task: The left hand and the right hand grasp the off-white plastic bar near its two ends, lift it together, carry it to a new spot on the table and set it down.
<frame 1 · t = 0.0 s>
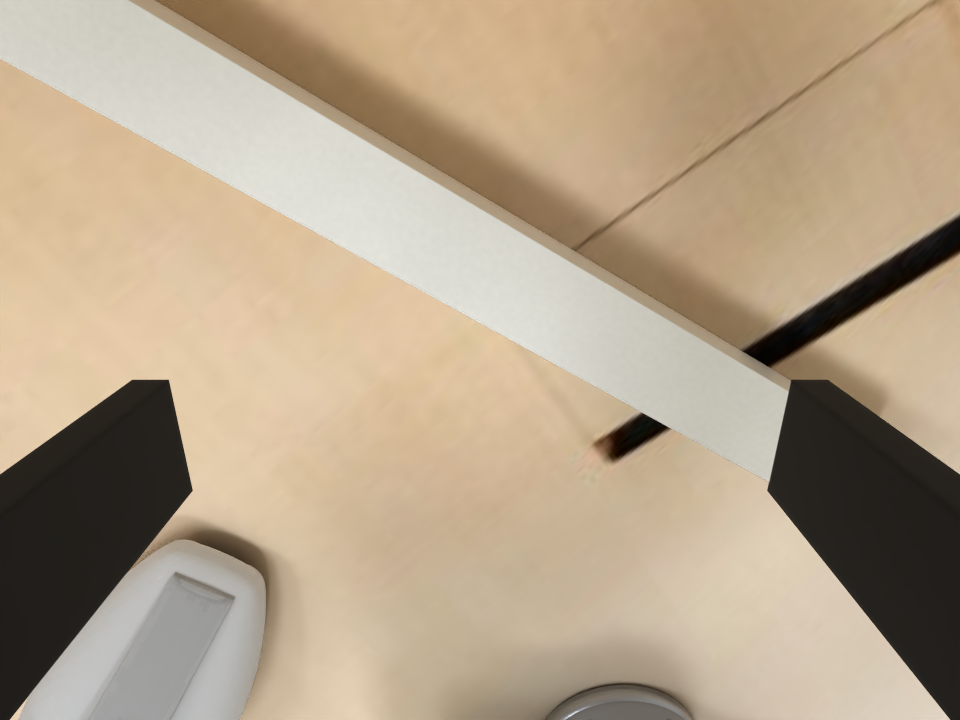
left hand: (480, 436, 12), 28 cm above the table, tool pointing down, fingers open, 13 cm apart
bar: (521, 268, 39), on the table
projector: (179, 630, 51), on the table
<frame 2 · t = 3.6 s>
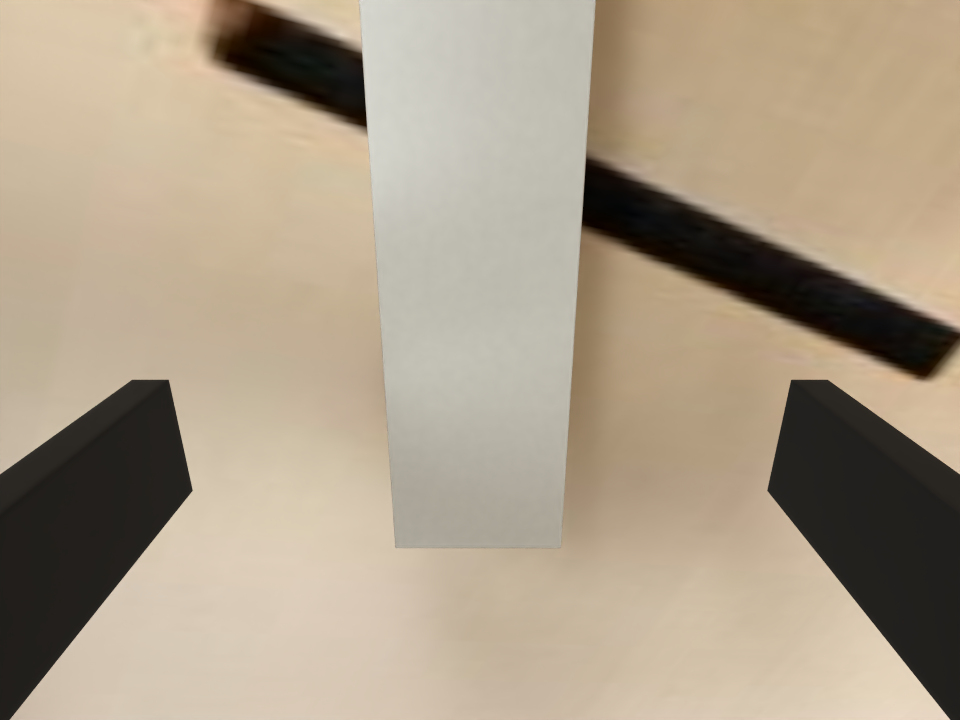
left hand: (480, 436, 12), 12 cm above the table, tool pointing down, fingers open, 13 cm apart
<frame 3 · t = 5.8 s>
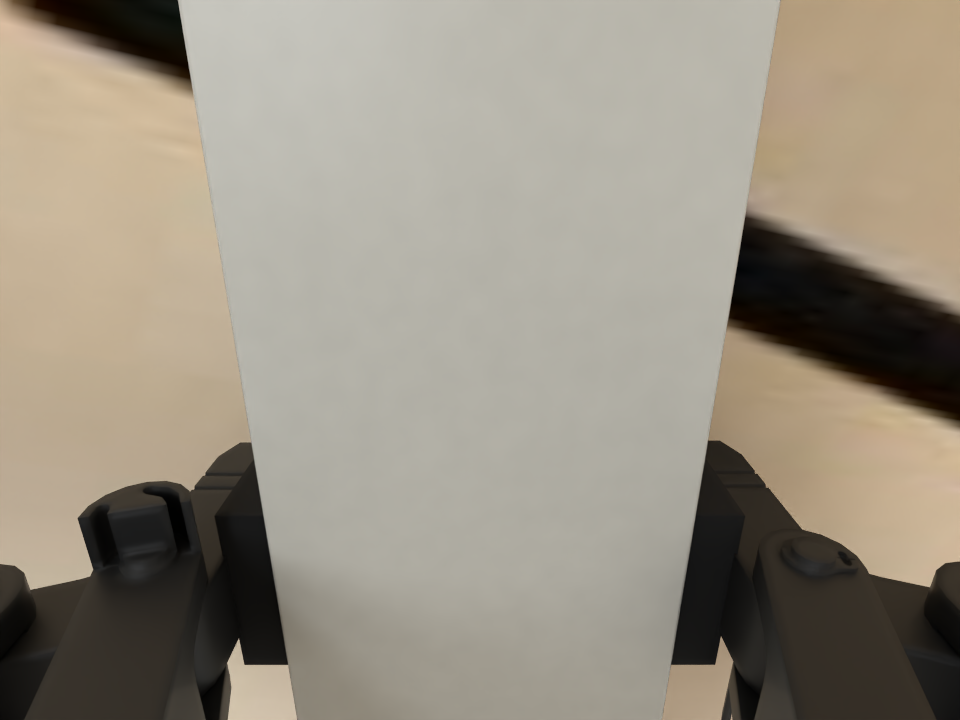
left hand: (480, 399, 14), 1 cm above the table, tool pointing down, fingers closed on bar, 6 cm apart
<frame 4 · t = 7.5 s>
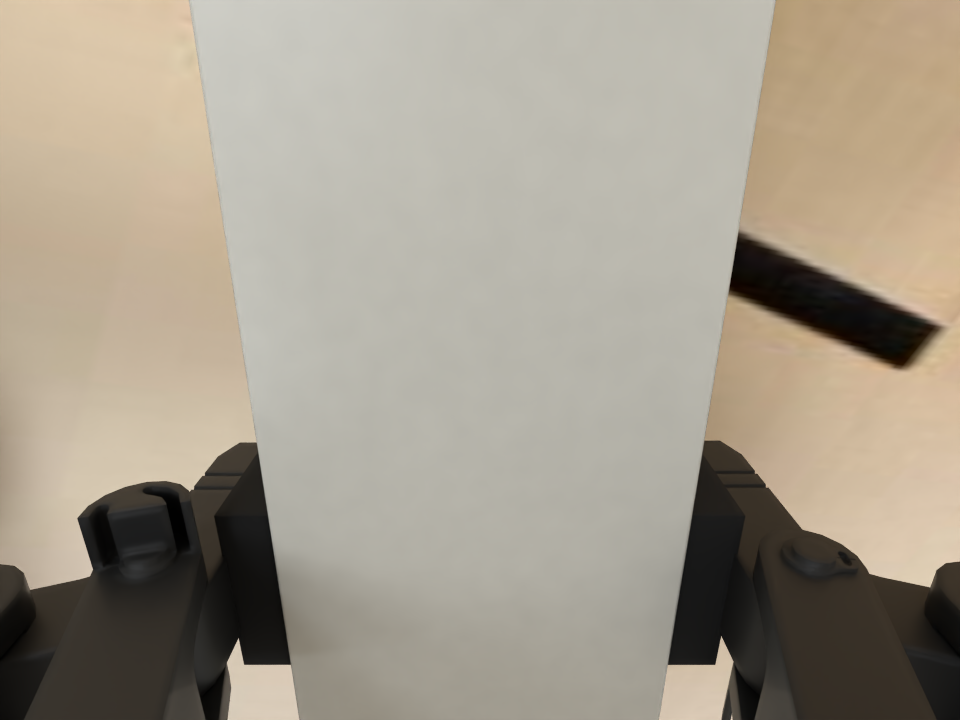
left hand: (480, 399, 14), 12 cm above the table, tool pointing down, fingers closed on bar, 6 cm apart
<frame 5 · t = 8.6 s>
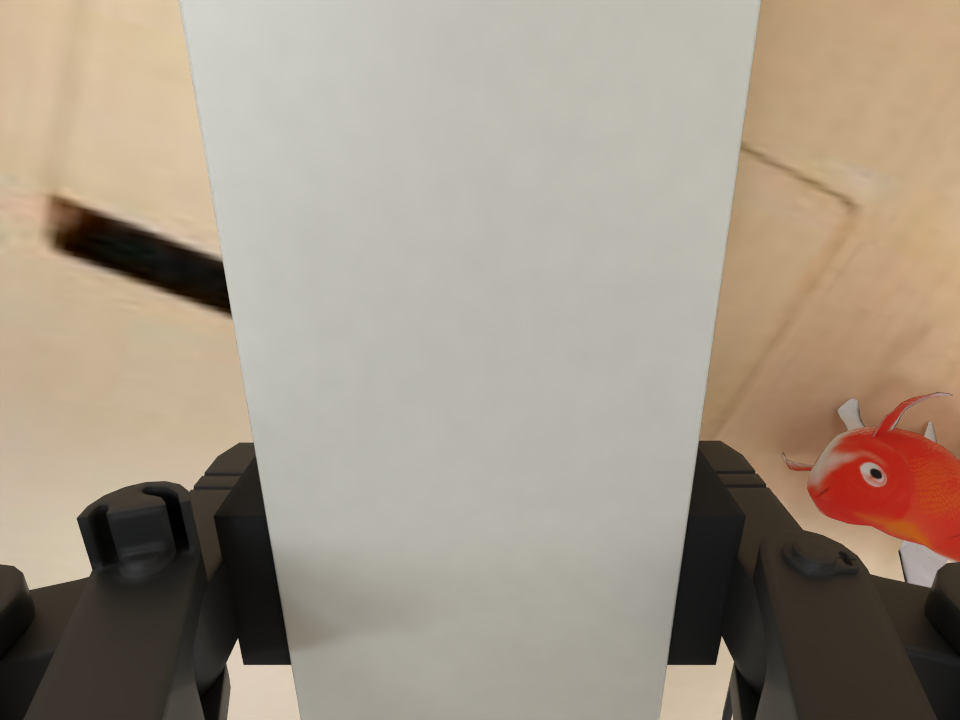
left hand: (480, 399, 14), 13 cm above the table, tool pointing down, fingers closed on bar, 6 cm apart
fish: (902, 441, 29), on the table
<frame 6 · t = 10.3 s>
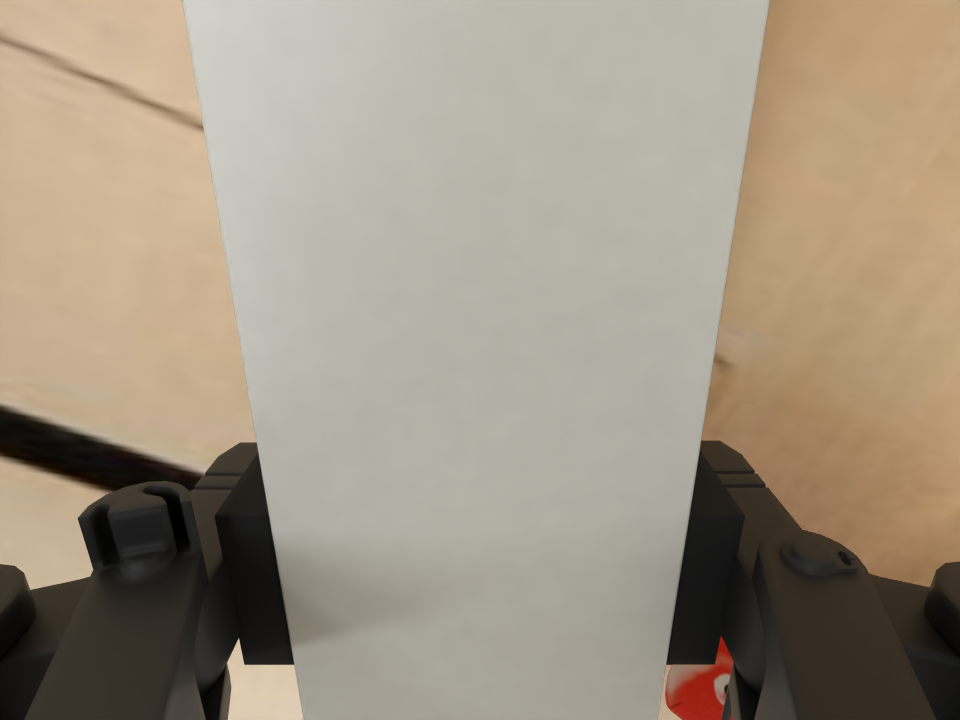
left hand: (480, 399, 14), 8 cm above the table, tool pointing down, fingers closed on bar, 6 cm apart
fish: (796, 600, 27), on the table
when the left hand's fingers open (2 cm above the table, at t = 11.4 s): bar drops 1 cm, on the table.
when the right hand's fingers open (4 cm above the table, at t = 11.6 s): bar stays where it is, on the table.
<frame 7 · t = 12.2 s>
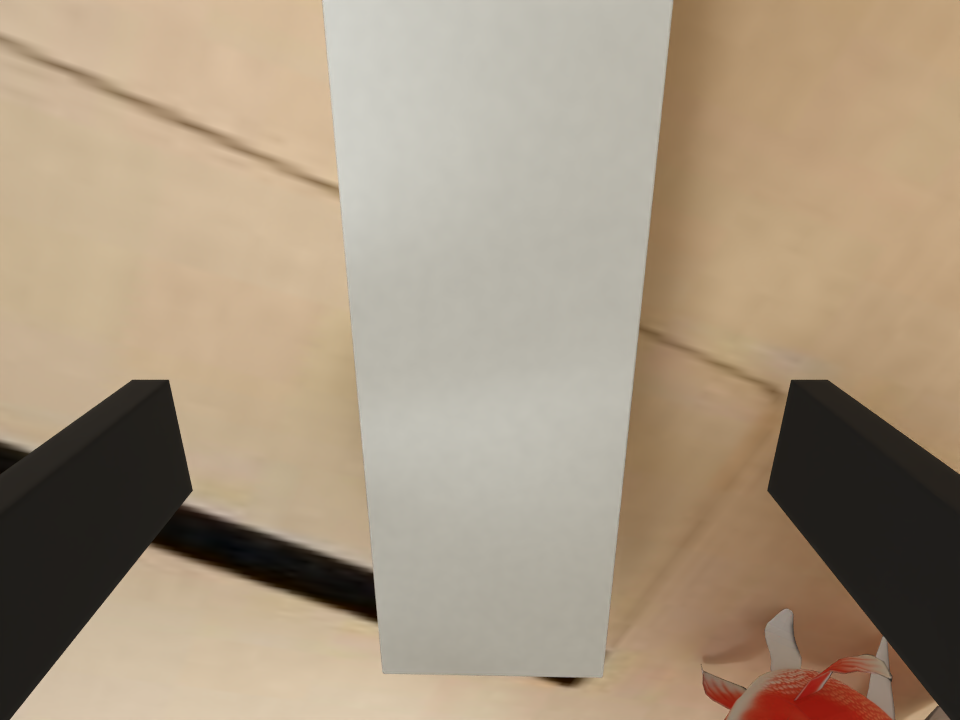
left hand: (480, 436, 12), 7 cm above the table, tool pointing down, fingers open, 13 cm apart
fish: (850, 653, 24), on the table
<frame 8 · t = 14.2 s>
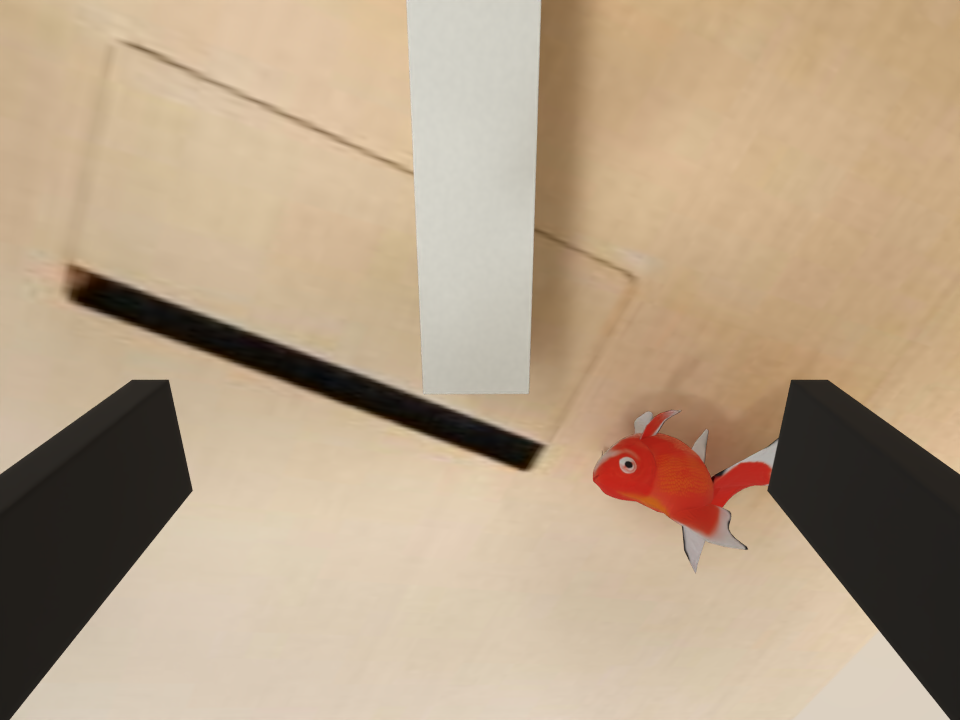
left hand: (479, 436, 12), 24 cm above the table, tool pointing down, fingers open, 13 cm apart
fish: (690, 443, 40), on the table
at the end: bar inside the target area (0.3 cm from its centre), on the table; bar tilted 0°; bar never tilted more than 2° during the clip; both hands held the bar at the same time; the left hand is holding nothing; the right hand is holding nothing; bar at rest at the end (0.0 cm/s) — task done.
